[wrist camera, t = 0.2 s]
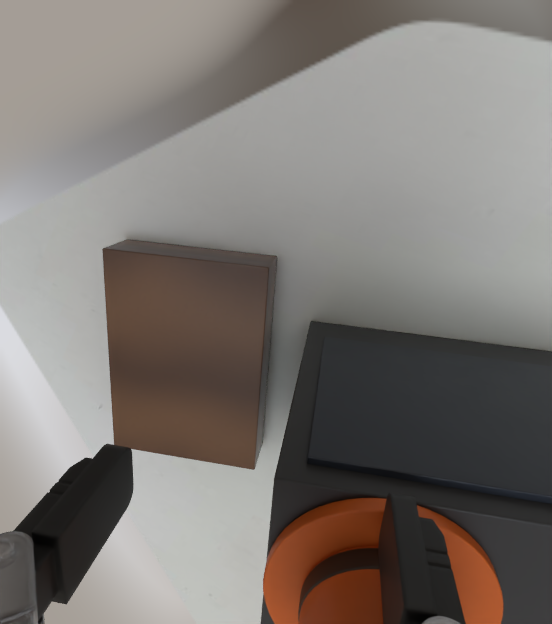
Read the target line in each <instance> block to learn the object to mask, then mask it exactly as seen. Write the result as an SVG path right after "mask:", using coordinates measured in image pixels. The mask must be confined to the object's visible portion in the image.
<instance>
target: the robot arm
mask: <svg viewBox="0 0 552 624" xmlns="http://www.w3.org/2000/svg"><path fill="white" fill-rule="evenodd" d="M132 493H133V465H132V451H131V449H130V448H129V447H123V446H117V445H111V444H106V445H104V446H103V447H102V448H101V449H100V451H99V452H98V453H97V454H96V455H95V457H94V458H93V459H91V458H84V459H83V460H81V461H80V462H78V463H76V464H75V465H73V466H72V467H70V468H69V469H68V470H67V472H66V473H65V474H64V475H63V476H62V477H61V478H60V479H59V482H57V483H56V484H55V485H54V486H53V487H52V488H51V489H50V492H49V493H47V494H46V495H45V496H44V497H43V498H42V500H41V501H40V502H39V503H38V504H37V505H36V506H35V508H33V510H32V511H31V512H30V513H29V514H28V515H27V516H26V517H25V519H24V520H23V521H22V522H21V523H20V524H19V525H18V526H17V527H16V529H15V530H14V531H12V532H6V533H2V534H0V624H44V612H45V611H46V609H47V608H48V606H49V604H50V603H51V602H52V601H53V602H58V603H62V604H67V603H68V601H69V600H70V598H71V596H72V595H73V593H74V592H75V590H76V588H77V587H78V585H79V584H80V582H81V581H82V579H83V577H84V576H85V574H86V573H87V571H88V569H89V568H90V566H91V565H92V563H93V561H94V560H95V558H96V557H97V555H98V553H99V552H100V550H101V549H102V547H103V545H104V544H105V542H106V541H107V539H108V538H109V536H110V534H111V533H112V531H113V530H114V528H115V526H116V525H117V523H118V522H119V520H120V518H121V517H122V515H123V514H124V512H125V510H126V509H127V507H128V505H129V503H130V500H131V497H132ZM378 555H379V569H380V583H381V597H382V611H383V624H466V623H465V619H464V615H463V611H462V607H461V603H460V599H459V595H458V591H457V587H456V583H455V579H454V575H453V571H452V569H451V563H450V559H449V555H448V550H447V546H446V542H445V538H444V535H443V533H442V532H441V531H440V529H439V528H438V526H437V525H436V523H435V522H434V521H433V519H429V518H423V517H419V514H418V509H417V504H416V499H415V497H412V496H406V495H400V494H394V493H388V496H387V500H386V505H385V509H384V514H383V519H382V524H381V529H380V534H379V546H378Z"/></svg>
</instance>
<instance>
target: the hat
mask: <svg viewBox="0 0 552 624" xmlns="http://www.w3.org/2000/svg"><path fill="white" fill-rule="evenodd" d="M386 500H387V499H383V498H356V499H346V500H341V501H336V502H332V503H329V504H326V505H322V506H319V507H317V508H315V509H313V510H311V511H308V512H306V513H305V514H303V515H302V516H300V517H298V518H297V519H295V520H294V521H293V522H292V523H291V524H289V525H288V526H287V527H286V528H285V529H284V530H283V531H282V533H281V534H280V535H279V536H278V537H277V539H276V541H275V542H274V544H273V546H272V547H271V550H270V552H269V555H268V558H267V563H266V568H265V573H264V578H263V592H264V597H265V603H266V606H267V608H268V611H269V614H270V616H271V618H272V620H273V622H274V623H275V624H383V611H382V597H381V583H380V569H379V555H378V546H379V534H380V529H381V524H382V519H383V514H384V509H385V505H386ZM417 509H418V514H419V517H423V518H429V519H433V521H434V522H435V523H436V525H437V526H438V528H439V529H440V531H441V532H442V533H443V535H444V538H445V542H446V546H447V550H448V555H449V559H450V563H451V569H452V571H453V575H454V579H455V583H456V587H457V591H458V595H459V599H460V603H461V607H462V611H463V615H464V619H465V623H466V624H501V621H502V618H503V605H504V603H503V596H502V590H501V587H500V584H499V581H498V578H497V575H496V572H495V569H494V567H493V565H492V563H491V561H490V559H489V557H488V555H487V554H486V553H485V551H484V550H483V549H482V547H481V546H480V545H479V544H478V543H477V542H476V541H475V540H474V539H473V537H472V536H471V535H470V534H469V533H467V532H466V531H465V530H464V529H462V528H461V527H460V526H458V525H457V524H456V523H454V522H452V521H451V520H449V519H447V518H446V517H444V516H442V515H440V514H438V513H436V512H434V511H431V510H429V509H427V508H424V507H421V506H418V505H417Z"/></svg>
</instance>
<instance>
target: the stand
mask: <svg viewBox="0 0 552 624" xmlns="http://www.w3.org/2000/svg"><path fill="white" fill-rule="evenodd" d="M103 264H104V280H105V297H106V314H107V331H108V347H109V364H110V381H111V398H112V414H113V431H114V445H117V446H123V447H129V448H130V449H136V450H141V451H147V452H153V453H159V454H165V455H171V456H177V457H183V458H189V459H194V460H200V461H206V462H212V463H218V464H224V465H230V466H236V467H241V468H247V469H255V466H256V463H257V460H258V456H259V453H260V450H261V446H262V443H263V430H264V418H265V405H266V392H267V380H268V367H269V354H270V342H271V329H272V316H273V304H274V291H275V278H276V266H277V257H276V256H270V255H261V254H252V253H243V252H234V251H225V250H216V249H207V248H198V247H189V246H179V245H170V244H161V243H152V242H143V241H134V240H124V241H122V242H119V243H116V244H114V245H111V246H108V247H106V248H103Z"/></svg>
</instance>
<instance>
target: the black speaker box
mask: <svg viewBox="0 0 552 624" xmlns="http://www.w3.org/2000/svg"><path fill="white" fill-rule="evenodd" d="M388 493H394V494H400V495H406V496H412V497H415V499H416V504H417V505H418V506H421V507H424V508H427V509H429V510H431V511H434V512H436V513H438V514H440V515H442V516H444V517H446V518H447V519H449V520H451V521H452V522H454V523H456V524H457V525H458V526H460V527H461V528H462V529H464V530H465V531H466V532H467V533H469V534H470V535H471V536H472V537H473V539H474V540H475V541H476V542H477V543H478V544H479V545H480V546H481V547H482V549H483V550H484V551H485V553H486V554H487V555H488V557H489V559H490V561H491V563H492V565H493V567H494V569H495V572H496V575H497V578H498V581H499V584H500V587H501V590H502V596H503V603H504V605H503V618H502V621H501V624H552V352H549V351H541V350H533V349H525V348H518V347H510V346H502V345H494V344H486V343H478V342H470V341H463V340H455V339H447V338H439V337H431V336H423V335H416V334H408V333H400V332H392V331H384V330H376V329H368V328H361V327H353V326H345V325H337V324H329V323H321V322H314V321H311V322H310V326H309V331H308V335H307V339H306V344H305V348H304V352H303V357H302V361H301V365H300V370H299V374H298V378H297V383H296V387H295V391H294V396H293V400H292V404H291V409H290V413H289V417H288V422H287V426H286V430H285V434H284V439H283V443H282V447H281V452H280V456H279V460H278V465H277V469H276V473H275V478H274V487H273V498H272V509H271V520H270V530H269V541H268V552H267V558H268V555H269V552H270V550H271V547H272V546H273V544H274V542H275V541H276V539H277V537H278V536H279V535H280V534H281V533H282V531H283V530H284V529H285V528H286V527H287V526H288V525H289V524H291V523H292V522H293V521H294V520H295V519H297V518H298V517H300V516H302V515H303V514H305V513H306V512H308V511H311V510H313V509H315V508H317V507H319V506H322V505H326V504H329V503H332V502H336V501H341V500H346V499H356V498H383V499H387V496H388ZM266 563H267V562H266ZM261 624H275V623H274V622H273V620H272V618H271V616H270V614H269V611H268V608H267V606H266V603H265V597H264V595H263V605H262V616H261Z"/></svg>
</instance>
